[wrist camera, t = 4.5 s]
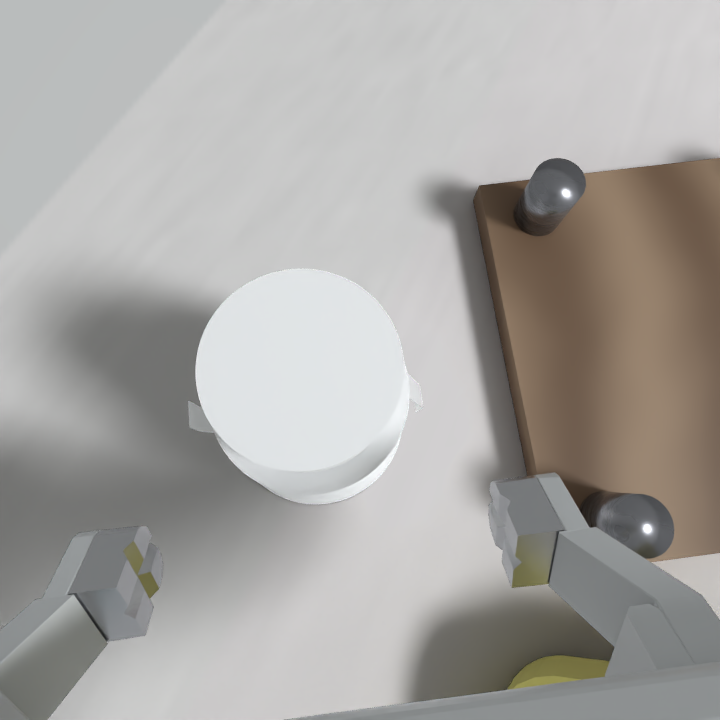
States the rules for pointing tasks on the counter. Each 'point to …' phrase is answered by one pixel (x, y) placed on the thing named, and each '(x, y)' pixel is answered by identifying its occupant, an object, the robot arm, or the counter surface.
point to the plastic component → (558, 671)
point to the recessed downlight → (304, 385)
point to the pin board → (615, 342)
